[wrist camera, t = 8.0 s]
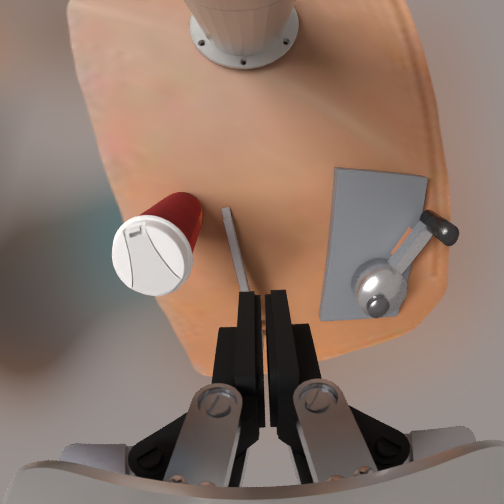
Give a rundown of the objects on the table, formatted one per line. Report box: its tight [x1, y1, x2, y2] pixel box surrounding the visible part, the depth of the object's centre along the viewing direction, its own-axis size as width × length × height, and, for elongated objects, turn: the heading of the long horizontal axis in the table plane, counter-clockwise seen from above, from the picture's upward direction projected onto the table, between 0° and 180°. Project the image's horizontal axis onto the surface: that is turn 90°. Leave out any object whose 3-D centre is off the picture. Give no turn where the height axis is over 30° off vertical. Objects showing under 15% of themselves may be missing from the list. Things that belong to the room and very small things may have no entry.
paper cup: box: [112, 192, 203, 296], centre depth 30 cm, size 8×8×14 cm
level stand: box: [319, 167, 428, 321], centre depth 38 cm, size 22×13×2 cm, turn 0°
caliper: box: [222, 207, 264, 348], centre depth 38 cm, size 20×1×6 cm, turn 13°
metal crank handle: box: [351, 210, 459, 318], centre depth 34 cm, size 16×7×7 cm, turn 147°
